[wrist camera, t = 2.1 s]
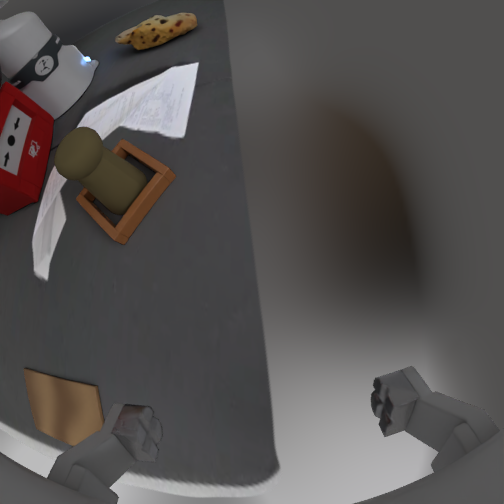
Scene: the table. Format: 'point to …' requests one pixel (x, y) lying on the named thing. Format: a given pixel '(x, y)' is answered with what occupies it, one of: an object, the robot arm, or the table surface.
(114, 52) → the table surface
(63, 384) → the wooden cutting board
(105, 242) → the table surface
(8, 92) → the fire alarm
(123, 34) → the toy
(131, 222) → the frame
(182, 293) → the table surface
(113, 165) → the pepper shaker
